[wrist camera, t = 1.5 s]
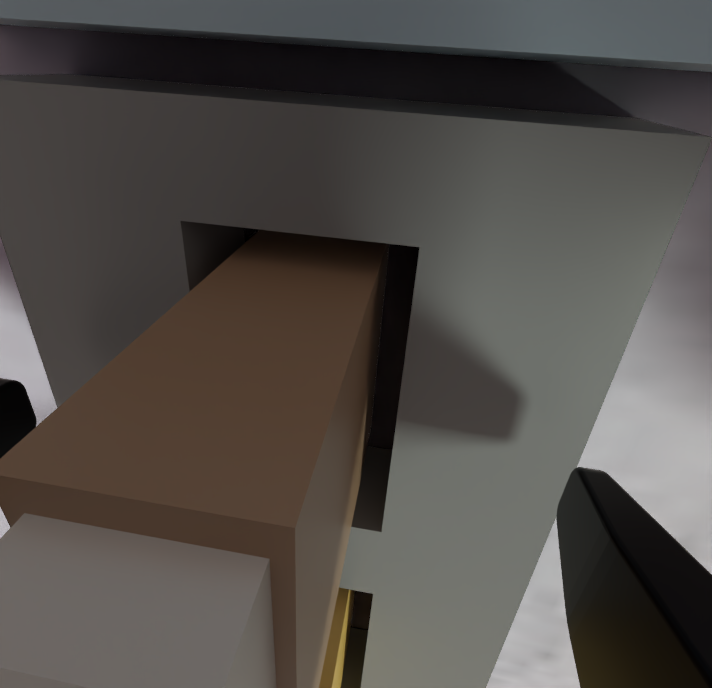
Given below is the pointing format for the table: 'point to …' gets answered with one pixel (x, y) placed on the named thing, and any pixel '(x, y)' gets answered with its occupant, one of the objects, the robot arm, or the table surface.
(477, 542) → the block
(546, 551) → the table surface
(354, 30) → the parts tray
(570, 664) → the table surface
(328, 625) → the block
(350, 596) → the block
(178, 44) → the table surface
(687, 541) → the table surface
